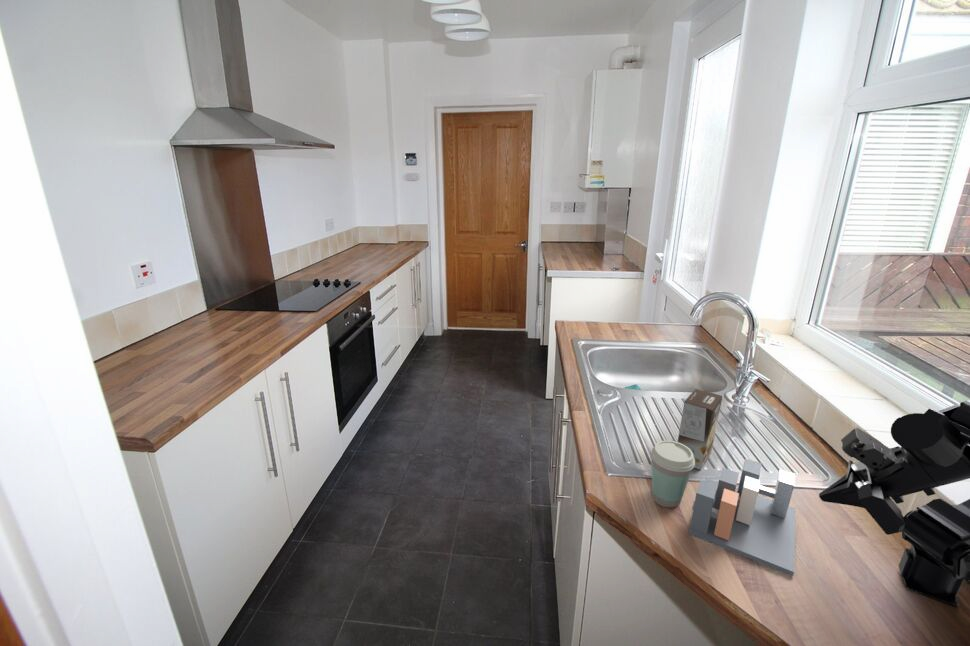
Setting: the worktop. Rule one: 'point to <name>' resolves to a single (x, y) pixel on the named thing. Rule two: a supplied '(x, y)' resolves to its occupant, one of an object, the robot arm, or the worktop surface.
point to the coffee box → (700, 424)
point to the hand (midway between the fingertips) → (820, 497)
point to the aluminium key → (780, 493)
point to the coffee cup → (670, 472)
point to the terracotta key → (725, 514)
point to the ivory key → (747, 500)
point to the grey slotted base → (758, 541)
